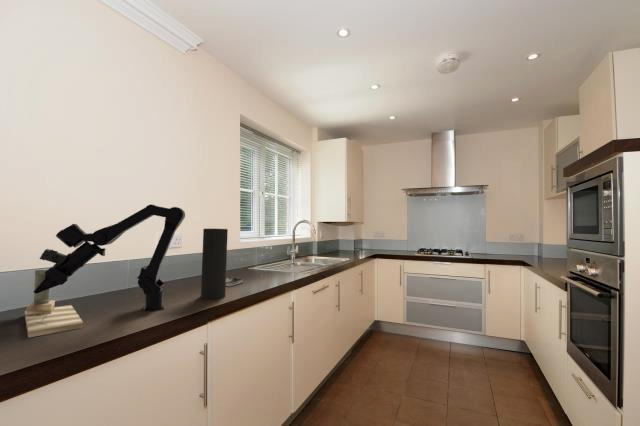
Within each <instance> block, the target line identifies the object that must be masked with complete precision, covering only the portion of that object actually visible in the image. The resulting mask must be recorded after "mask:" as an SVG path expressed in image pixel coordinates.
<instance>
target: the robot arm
mask: <svg viewBox="0 0 640 426" xmlns="http://www.w3.org/2000/svg"><path fill="white" fill-rule="evenodd" d="M153 216H157V217H161V218H165V219H164V225H163V226H164V228H163V230H162V233H161V236H160V238H159V240H158V243H157V245H156V247H155V249H154V252H153V254H152V256H151V259H150V262H149V264H148V265H144V266H142V267H141V269H140V271H139V272H140V273H139V275H138V276H137V277H136V280H137V279H138V280H137V285H138V286H139V288H140V289H141V290H142V291H143V294H144V305H143V306H142V308H143V311H144V312H149V311H155V310H156V311H157V310H164V309H165V307H164V304H163V291H164V290H163V289H164V288H165V286H166V284H165V282H163V280H161V279H160V277H161V272H162V271H161V270H162V264H163V262H164V260H165V257H166V254H167V252H168V249H169V247H170V246H171V243H172V240H173V238H174V235H175V233H176V231H177V230H178V229H179V227H180V225H181V224H182V222H183V221H184V219H185V218H186V212H185V211H184V209H183V208H181V207H179V206H178V207H177V206H172V207H170V208H168V207H163V206H158V205H156V204H148V205H146V206H145V207H144V208H142V209H140V210H138V211H137V212H134V213H133V214H131V215H130V216H128V217H126V218H124V219H122V220H121V221H118V222H117V223H115V224H111V225H108V226H105V227H103V228H100V229H97V230H95V231H94V232H93V233H92V232H91V233H86V232H85V231H84V230H83V229H82V228H80V226H79V225H78V224H77V223H72V224H71V225H68V226H66V227H65V228H63V229H61V230H60V231H58V232H57V233H56V235H55V237H56V238H57V239H59V240H60V241H61V242H62V243H63V244H64V245H66V246H67V247H68V248H75V249H74V250H73V251H72V252H70V253H68V254H63V253H61V252H58V251H57V250H53V249H49V248H47V249H45V250H44V251H43V253H41V255H40V257H39V260H42V261H46V262H49V263H53V264H54V265H53V266H51V267H49V268H47V269H48V270H47V271H46V272H44V273H45V279H44V280H43V281H42V283H41V284H40V285H39V286H38V287H37V288H36V289H35V290H34V289H33V294H34V293H35V294H37V293H40V292H42V291H45V290H47V289H49V290H50V289H52V288H55V287H58V286H63V285H64V284H65V283H66V282H67V281H68V280H69V277H71V276H73V275H74V273H77V271H78V270H79V269H81V268H82V267H84V265H86V264H87V263H89V261H91V260H92V259H93V258H95V257H96V256H97V255H99V256H102V257H105V256H106V250H107V248H101V247H102V246H106V245H107V246H108V245H111V244H113V243H114V242H115V241H117V240H118V239H119V238H120V237H121V236H122V235H123V234H124V233H126V232H127V231H128V230H131V229H132V228H134V227H136V226H137V225H139V224H141V223H143V222H144V221H146V220H148V219H150V218H151V217H153Z"/></svg>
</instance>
